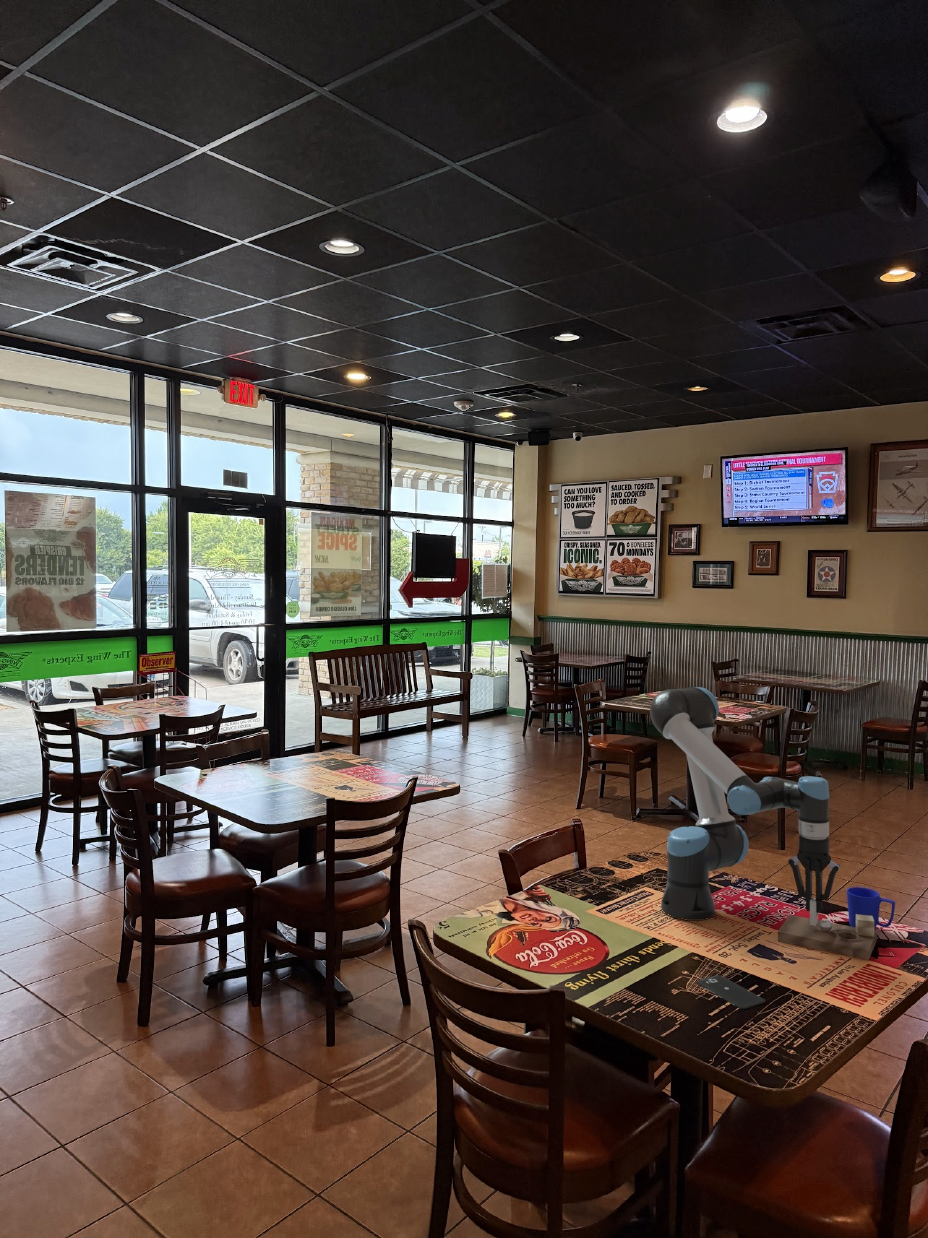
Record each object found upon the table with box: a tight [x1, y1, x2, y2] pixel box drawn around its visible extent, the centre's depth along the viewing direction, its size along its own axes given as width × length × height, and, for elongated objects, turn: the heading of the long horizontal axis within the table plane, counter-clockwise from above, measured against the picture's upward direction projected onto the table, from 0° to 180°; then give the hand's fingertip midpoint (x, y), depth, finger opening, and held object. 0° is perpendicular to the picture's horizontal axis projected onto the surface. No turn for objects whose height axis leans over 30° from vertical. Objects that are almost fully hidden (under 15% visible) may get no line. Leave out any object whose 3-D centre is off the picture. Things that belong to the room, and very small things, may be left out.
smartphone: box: [696, 974, 766, 1010], centre depth 198 cm, size 8×15×1 cm, turn 27°
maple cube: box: [856, 914, 875, 937], centre depth 225 cm, size 4×4×4 cm
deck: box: [777, 914, 878, 961], centre depth 226 cm, size 22×14×2 cm, turn 57°
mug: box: [846, 886, 896, 931], centre depth 233 cm, size 8×12×10 cm
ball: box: [819, 918, 833, 932], centre depth 226 cm, size 3×3×3 cm
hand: (813, 923), depth 227 cm, fingers closed
